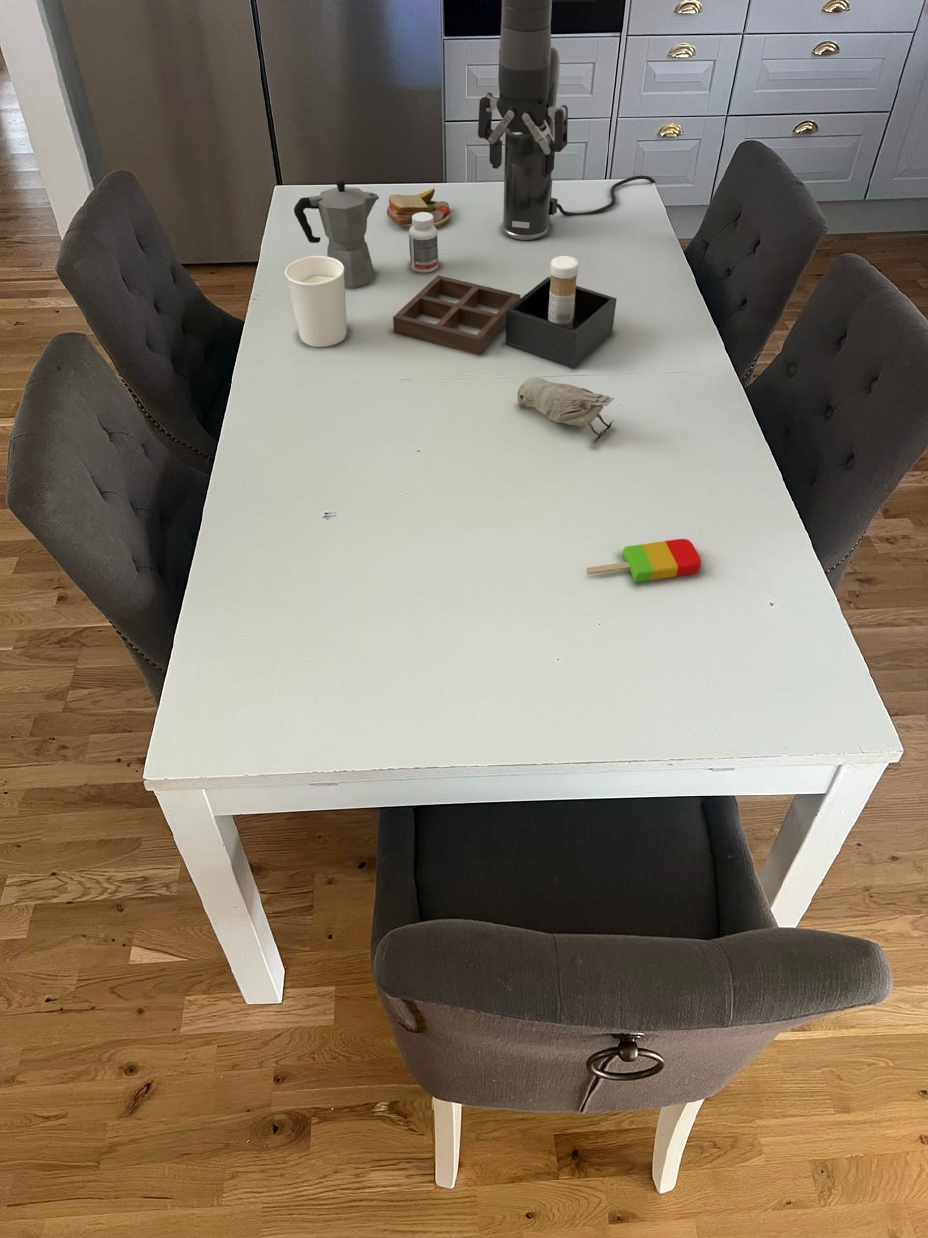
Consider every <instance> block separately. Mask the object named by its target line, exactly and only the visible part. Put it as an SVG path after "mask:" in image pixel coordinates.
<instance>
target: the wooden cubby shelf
mask: <svg viewBox="0 0 928 1238" xmlns="http://www.w3.org/2000/svg"><path fill="white" fill-rule="evenodd" d="M441 295H443V296H446V297H450V298H455V299H459V300H458V301H457V303H456V302H451V301H448V300H443V299H439V297H440V296H441ZM520 298H522V295H521V294H518V293H515V292H510V291H506V290H501V289H498V288H493V287H491V286H490V287H489V286H485V285H481V284H477V283H474V282H473V283H472V282H469V281H464V280H461V279H455V278H452V277H447V276H444V275H439V274H438V275H436V276H435V277H434V278H433V279H432V280H431V281H430V282H429V283H427V285H426V286H424V287H423V288H422V289H421V290H420V291H419V292H418V293H417V294H416V295H415V296H414V297H412V299H410V301H408V302H407V303H406V304H405V305H404V306H403V307H402V308H401V309H400V310H398V312H396V313H395V314H394V315H393V317H392V322H393V333H395V334H397V335H401V336H402V335H403V336H405V337H409V338H413V339H417V340H421V341H424V342H428V343H432V344H436V345H439V346H443V347H447V348H450V349H454V350H457V351H462V352H465V353H469V354H474V355H477V356H481V355H482V353H483V352H484V351H485V350H486V349H487V348H488V347H489V346H490V344H491V343H492V342H493V341H494V340H495V339H496V338H497V337H498V336H499V334H500V333H502V331H503V330H504V329H506V310H507V309H508V308H509V307H510V306H511V305H513V304H514V303H515V302H517V301H518V300H519V299H520ZM478 305H483V306H487V307H492V308H496V309H499V310H498V311H497V312H492V311H488V310H484V309H480V308H476V307H477V306H478ZM420 315H425V316H428V317H433V318H437V319H439V320H438V321H437V322H436V323H434V322H433V323H432V322H429V321H425V320H420V319H417V318H418V317H420ZM459 325H464V326H468V327H471V328H476V329H480V330H479V332H478V333H476V334H475V333H472V332H467V331H463V330H459V329H456V328H457V327H458V326H459Z"/></svg>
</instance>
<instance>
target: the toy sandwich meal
mask: <svg viewBox="0 0 928 1238" xmlns="http://www.w3.org/2000/svg"><path fill="white" fill-rule="evenodd" d="M435 192H436V189H435V188H434V187H433V188H431V189H429V190H426V191H424V192H422V193H418V194H398V193H397V194H390V195H389V196H388V204H389V205H388V206H387V208H386V216H387V217H388V218H389V219H390V220H391V221H392V222H394V223H395V224H398V225H399V226H401V227H402V228H406V229H409V230H410V228H411V227H412V226H413V225H412V216H413V215H414V214H416V213H420V212H427V213H430V214H432V215H433V221H434V223H433V226H434V227H435V228H436V229H437V228H439V227H441V226H443V225H444V224H445V223H447V221H448V220H450V218H451V217H452V210H451V208H450V205H449V204H450V203H448V202H447V201H445V200H444V201H442V200H440V201H437V200H432V199H433V197H434V195H435Z"/></svg>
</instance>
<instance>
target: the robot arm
mask: <svg viewBox="0 0 928 1238" xmlns="http://www.w3.org/2000/svg"><path fill="white" fill-rule="evenodd" d="M552 2H553V0H501V15H500V33H499V34H500V35H499V36H500V37H499V50H498V77H497V79H498V91H499V95H498V97H496V96H494V95H493V94H492V92H487V93H486V94H484V95H483V96H482V97H481V98H480V99H479V105H478V121H477V122H478V123H477V126H478V127H477V135H478V138H479V139H484V140H486V141H487V142H488V143H489V156H488V157H489V163H490V165H491V167H492V169H496V170H498V169H499V168H500V167H501V166H502V163H503V140H501V138H502V136H503V135H504V170H503V171H504V172H503V173H504V175H503V208H502V209H503V210H502V211H503V212H502V229H501V230H502V233H503V234H504V235H505V236H507V237H509V238H511V239H515V240H519V241H532V240H538V239H542V238H543V237H545V236H547V234H548V233H549V228H550V223H551V216H554V215H556V214H557V213H558V210H559V212H560V213H561V214H562V215H564V216H567V217H571V216H572V217H574V216H589V215H596V214H600V213H602V212H605V211H608V210H609V209H610V208H612V207H613V206H614V205H615V203H616V196H615V195H616V194H615V189H616V188H617V187H620V186H623V185H624V184H627V183H629V182H632V181H637V180H646V181H649V182H650V183H652V184H656V183H657V182H656V180H655V179H654V178H652V177H651V176H649V175H634V176H631V177H627V178H625V179H622V180H620V181H618V182H615V183H614V184H613V185H612V186H611V188H610V197H611V202H610V203H609V204H607V205H605V206H603V207H600V208H597V209H594V210H590V211H586V212H585V211H584V212H570V211H566V210H565V209H564V208H563V207H562V205H561V204H560V203H559V202H558V200H559V199H558V198H556V197H552V193H553V192H552V190H553V179H552V172H553V171H554V169H555V157H556V156H555V153H561V151H562V150H564V148H566V146H567V145H568V132H569V131H568V130H569V129H568V128H569V126H568V125H569V123H568V122H569V121H568V120H569V107H568V106H567V105H565V104H562V105H560V107H559V106H557V97H558V89H559V82H560V81H559V79H560V69H561V68H560V67H561V65H560V62H561V60H560V54H559V51H558V49H557V48H556V47H555V46H552V33H551V32H552V31H551V27H552V26H551V22H552V5H553V3H552ZM495 109H497V111H498V113H499V116H500V117H501V118H502V119H501V120H500V122H499V123H498V124H497V125H496V126H495V128H494V129H492V121H493V112H494V110H495Z"/></svg>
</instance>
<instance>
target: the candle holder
mask: <svg viewBox="0 0 928 1238" xmlns="http://www.w3.org/2000/svg"><path fill="white" fill-rule="evenodd" d="M284 275H285V278H286V283H287V287H288V293H289V296H290V302H291V305H292V310H293V313H294V314H293V315H294V319H295V324H296V328H297V331H298V332H297V333H298V335H299V338H300V340H301V341H302V343H304V344H306V345H308V346H311V347H314V348H315V347H316V348H326V347H331V346H334V345H337V344H339V343H340V342H342V341H344V339H345V338H346V336H347V335H348V334H347V331H348V326H347V307H346V306H347V303H346V302H347V301H346V288H345V280H344V266H343V264H342V263H341V262H340V261H338V260H337V259H334V258H331V257H327V255H309V256H305V257H301V258H298V259H296V260H294V261H292V262H291V263H289V264H287V266H286V268H285V270H284Z"/></svg>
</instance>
